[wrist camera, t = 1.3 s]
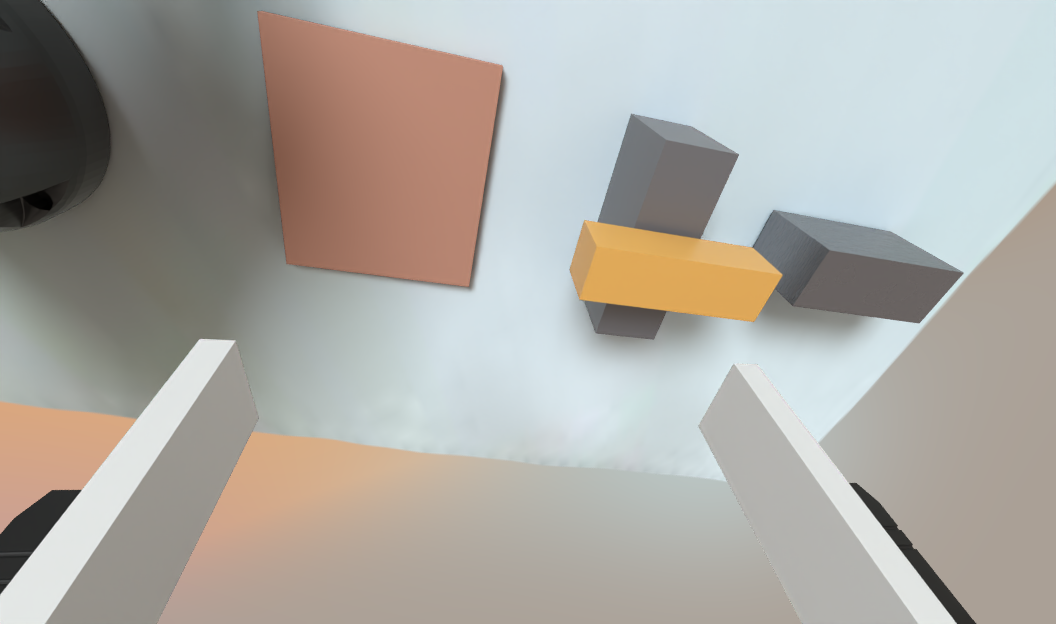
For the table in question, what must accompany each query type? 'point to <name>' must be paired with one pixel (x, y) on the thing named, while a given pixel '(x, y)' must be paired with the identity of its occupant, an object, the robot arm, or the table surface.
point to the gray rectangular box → (852, 268)
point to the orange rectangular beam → (670, 272)
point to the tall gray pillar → (660, 200)
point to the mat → (377, 150)
